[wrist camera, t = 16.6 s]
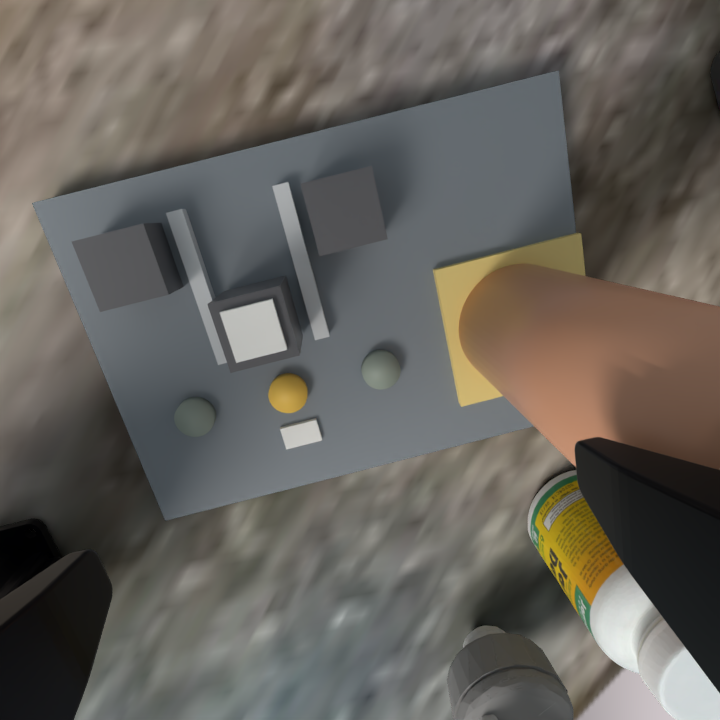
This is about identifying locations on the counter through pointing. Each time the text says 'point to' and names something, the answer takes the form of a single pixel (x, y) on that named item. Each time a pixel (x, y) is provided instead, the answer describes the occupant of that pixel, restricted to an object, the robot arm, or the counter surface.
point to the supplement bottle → (615, 601)
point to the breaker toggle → (257, 324)
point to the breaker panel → (317, 289)
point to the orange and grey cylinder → (599, 360)
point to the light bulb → (505, 680)
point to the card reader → (716, 76)
